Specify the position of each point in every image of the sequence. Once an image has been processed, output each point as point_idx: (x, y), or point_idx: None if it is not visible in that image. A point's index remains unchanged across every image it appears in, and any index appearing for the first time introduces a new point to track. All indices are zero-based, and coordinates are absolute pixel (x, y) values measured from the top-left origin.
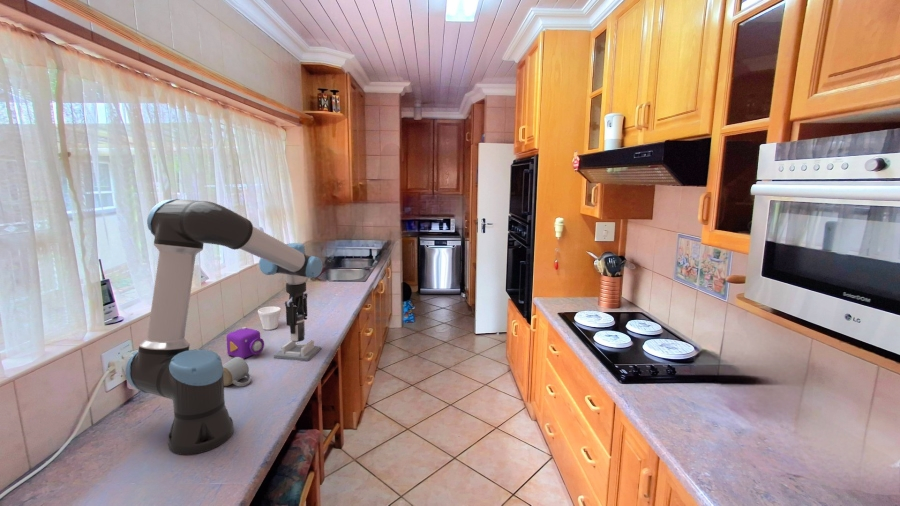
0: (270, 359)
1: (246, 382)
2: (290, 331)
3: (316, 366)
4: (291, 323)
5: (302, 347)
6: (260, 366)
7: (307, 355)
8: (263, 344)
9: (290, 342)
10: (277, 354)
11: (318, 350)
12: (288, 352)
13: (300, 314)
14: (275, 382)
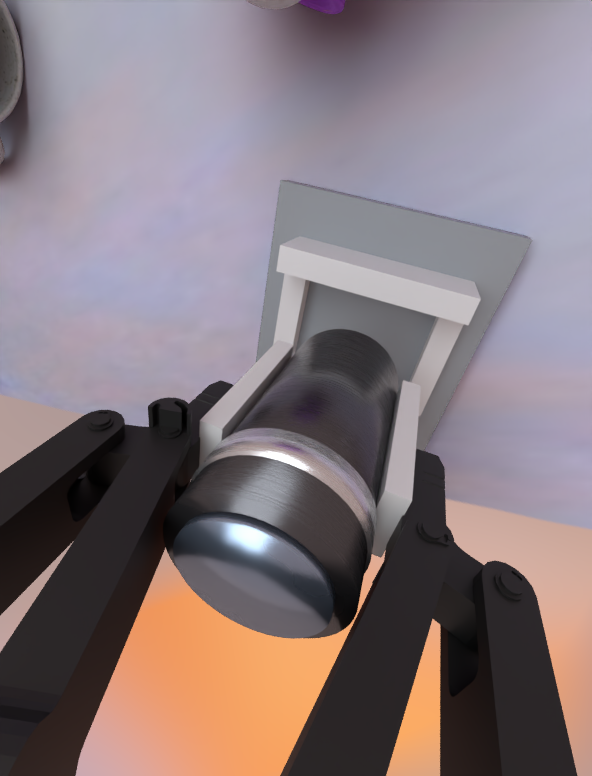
0: (266, 158)
1: None
2: (203, 391)
3: None
4: (80, 478)
5: None
6: (160, 131)
7: None
8: (330, 1)
9: (381, 298)
10: (294, 204)
11: None
12: (284, 296)
13: (289, 622)
14: (51, 293)
